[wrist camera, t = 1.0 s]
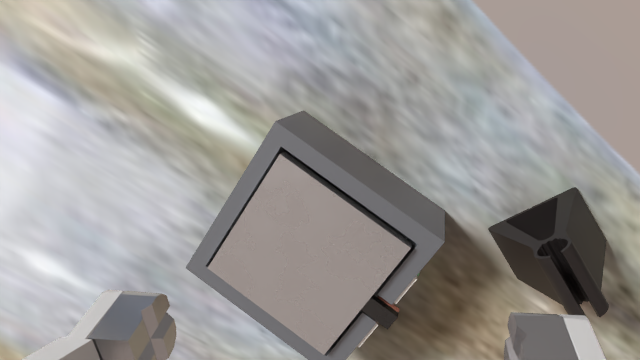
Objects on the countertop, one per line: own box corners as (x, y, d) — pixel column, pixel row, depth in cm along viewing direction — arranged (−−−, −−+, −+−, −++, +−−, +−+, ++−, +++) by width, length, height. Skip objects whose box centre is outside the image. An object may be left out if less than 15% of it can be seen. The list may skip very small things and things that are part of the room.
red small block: (399, 308, 45) (398, 311, 45) (389, 320, 46) (388, 323, 45) (379, 294, 46) (379, 297, 45) (370, 306, 46) (369, 309, 46)
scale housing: (448, 213, 50) (449, 245, 42) (351, 331, 56) (335, 379, 48) (303, 110, 51) (275, 121, 43) (224, 236, 57) (185, 267, 49)
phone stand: (575, 186, 47) (617, 228, 35) (605, 239, 47) (655, 297, 36) (487, 227, 50) (500, 278, 38) (516, 276, 50) (536, 340, 39)
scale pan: (440, 263, 43) (439, 268, 42) (351, 366, 47) (349, 374, 46) (284, 151, 44) (279, 154, 43) (212, 263, 49) (207, 268, 47)
